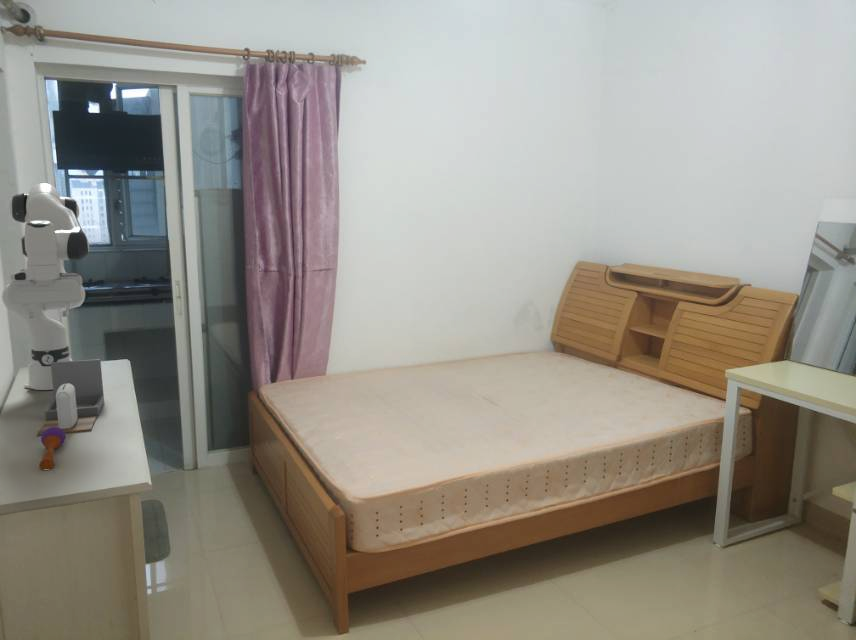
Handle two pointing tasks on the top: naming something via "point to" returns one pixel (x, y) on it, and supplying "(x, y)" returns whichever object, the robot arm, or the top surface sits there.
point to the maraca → (51, 445)
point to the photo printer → (66, 406)
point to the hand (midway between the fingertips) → (48, 317)
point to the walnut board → (79, 426)
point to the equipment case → (78, 385)
